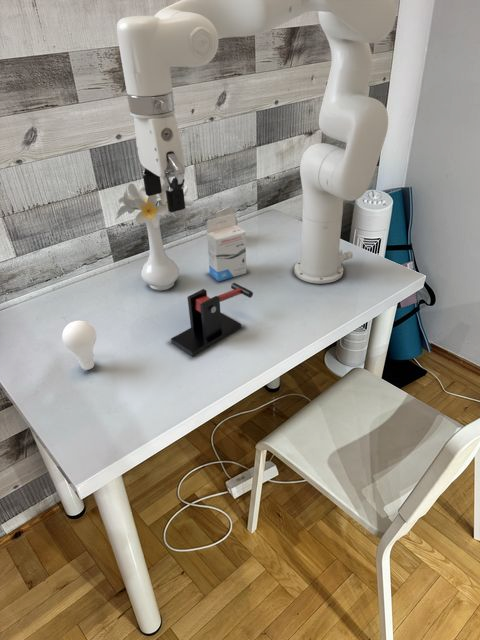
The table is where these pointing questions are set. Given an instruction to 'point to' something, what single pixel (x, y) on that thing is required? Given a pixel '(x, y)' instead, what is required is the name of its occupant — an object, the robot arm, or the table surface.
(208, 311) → the black lever base
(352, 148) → the robot arm
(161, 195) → the flower vase
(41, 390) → the table surface
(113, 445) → the table surface
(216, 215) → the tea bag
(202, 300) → the red lever handle
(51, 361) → the table surface
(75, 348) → the lightbulb
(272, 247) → the table surface
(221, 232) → the ink box
